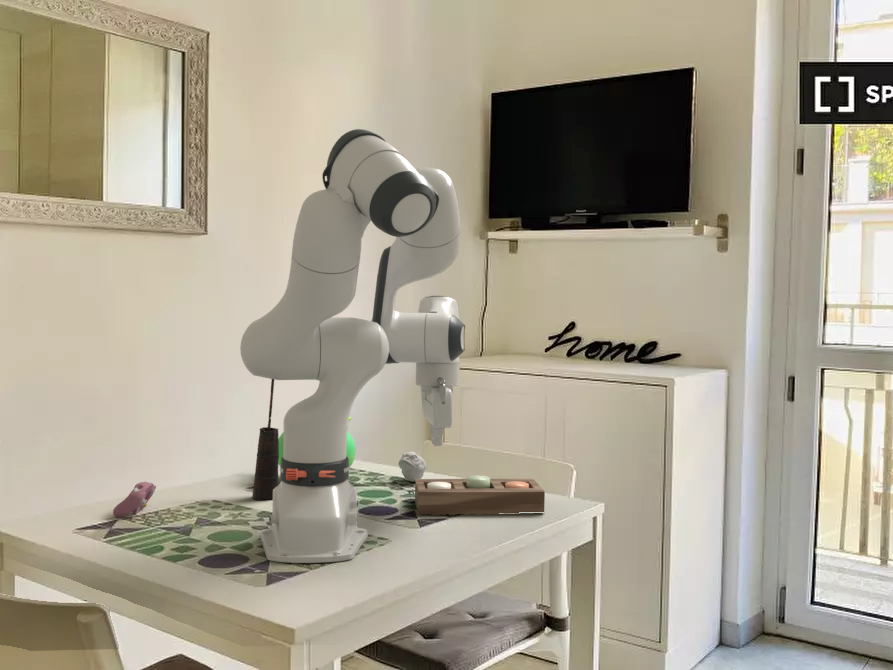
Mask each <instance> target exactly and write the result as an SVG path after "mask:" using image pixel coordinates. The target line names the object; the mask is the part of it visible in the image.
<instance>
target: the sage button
mask: <svg viewBox="0 0 893 670" xmlns="http://www.w3.org/2000/svg"><path fill="white" fill-rule="evenodd" d="M466 479H467V485H466V489H474V488H490V479H491V477H490V476H487V475H477V474H476V475H468V476H467V477H466Z"/></svg>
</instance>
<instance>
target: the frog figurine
mask: <svg viewBox="0 0 893 670" xmlns="http://www.w3.org/2000/svg"><path fill="white" fill-rule="evenodd" d="M398 466H399V469H400V470H401V474H402V476H403V477H404V479H405V480H406V481H409V482H412V483H415V479H423V477H424V473H425V471H426V469H427V464H426V461H425V460H424V458H423V457H421V456H420V455H418V454H417V453H416V451H415V452H414V451H408V452H403V453H402V457H401V459H399V460H398Z"/></svg>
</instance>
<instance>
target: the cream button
mask: <svg viewBox="0 0 893 670" xmlns="http://www.w3.org/2000/svg"><path fill="white" fill-rule="evenodd" d="M427 489H451V484H450V483H447V482H430V483H428V484H427Z"/></svg>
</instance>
